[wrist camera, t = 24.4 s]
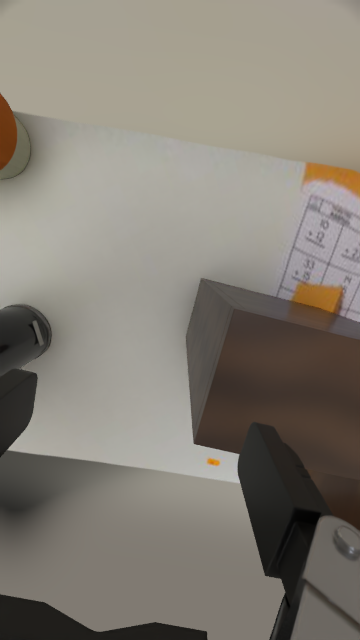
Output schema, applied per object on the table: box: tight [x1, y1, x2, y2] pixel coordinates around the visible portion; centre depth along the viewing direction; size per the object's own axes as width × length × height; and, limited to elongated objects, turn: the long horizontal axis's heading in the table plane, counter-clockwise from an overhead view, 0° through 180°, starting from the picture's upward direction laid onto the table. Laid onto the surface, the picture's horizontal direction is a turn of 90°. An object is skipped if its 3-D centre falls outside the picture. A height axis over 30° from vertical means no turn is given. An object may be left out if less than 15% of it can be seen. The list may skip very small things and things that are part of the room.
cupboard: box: [186, 278, 360, 480], centre depth 32 cm, size 10×20×27 cm, turn 76°
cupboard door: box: [306, 469, 360, 531], centre depth 36 cm, size 6×20×27 cm, turn 176°
